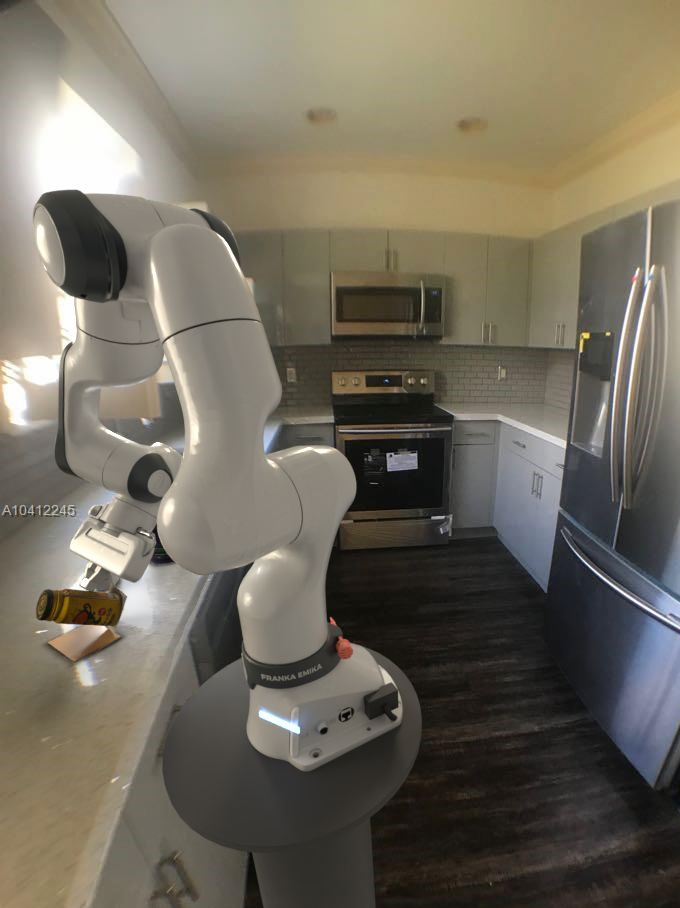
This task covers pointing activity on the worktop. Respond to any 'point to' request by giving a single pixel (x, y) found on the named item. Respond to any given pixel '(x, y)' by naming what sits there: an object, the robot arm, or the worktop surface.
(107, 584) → the usb wall charger
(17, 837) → the worktop surface
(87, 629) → the copper flat rectangular plate
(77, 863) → the worktop surface
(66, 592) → the condiment
